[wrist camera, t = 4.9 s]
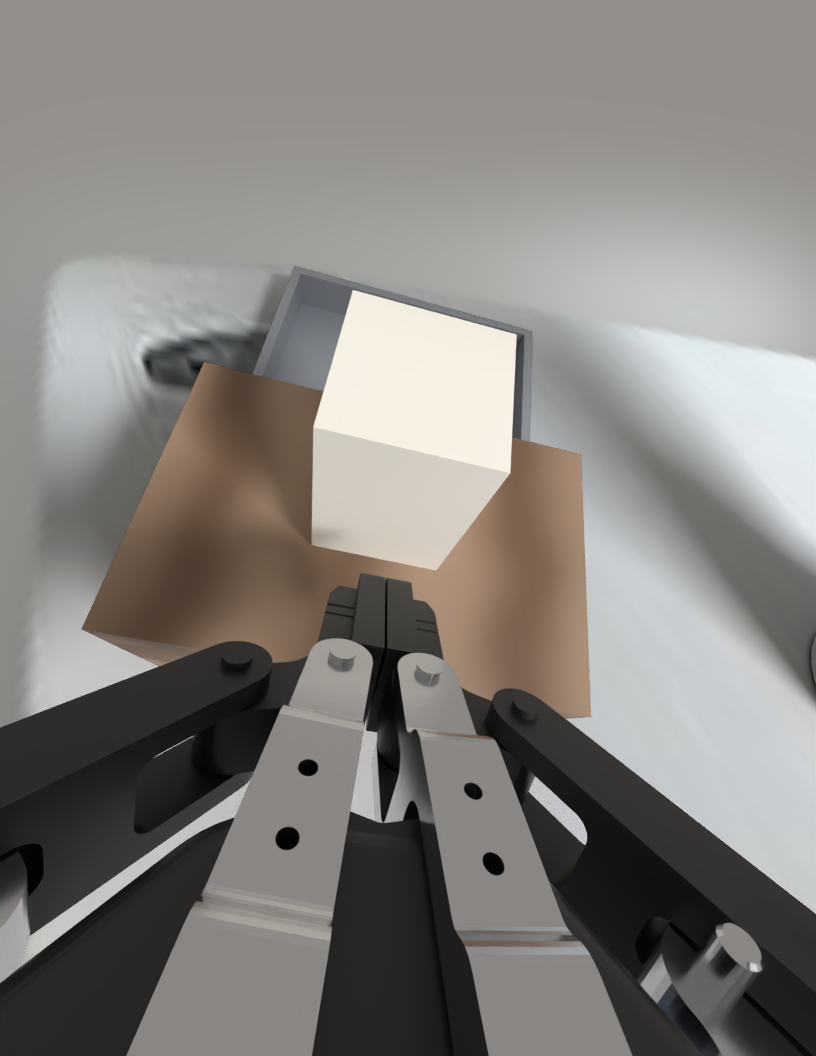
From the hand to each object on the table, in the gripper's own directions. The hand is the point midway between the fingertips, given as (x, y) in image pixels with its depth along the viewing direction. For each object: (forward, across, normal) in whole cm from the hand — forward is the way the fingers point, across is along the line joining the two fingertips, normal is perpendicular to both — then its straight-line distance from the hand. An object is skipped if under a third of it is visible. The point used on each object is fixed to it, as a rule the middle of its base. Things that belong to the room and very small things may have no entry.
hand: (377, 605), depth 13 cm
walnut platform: (+12, 0, +6) cm, 14 cm away
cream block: (+6, 0, -1) cm, 7 cm away
